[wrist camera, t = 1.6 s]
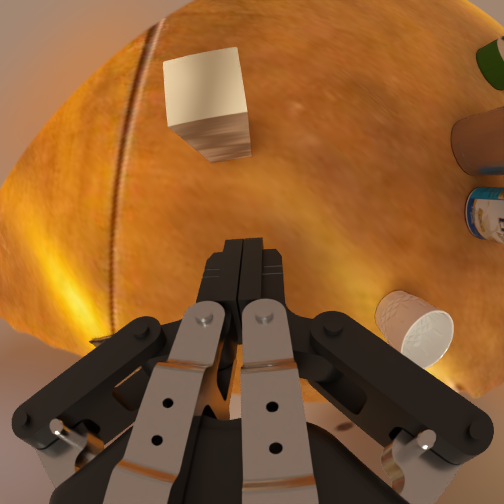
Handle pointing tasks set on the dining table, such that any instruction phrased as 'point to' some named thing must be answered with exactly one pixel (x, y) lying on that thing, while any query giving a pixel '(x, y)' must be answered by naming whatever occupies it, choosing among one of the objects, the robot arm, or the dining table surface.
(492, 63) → the wine bottle
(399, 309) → the white cup
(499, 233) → the beverage bottle
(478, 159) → the robot arm
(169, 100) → the birch block
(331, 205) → the dining table surface
